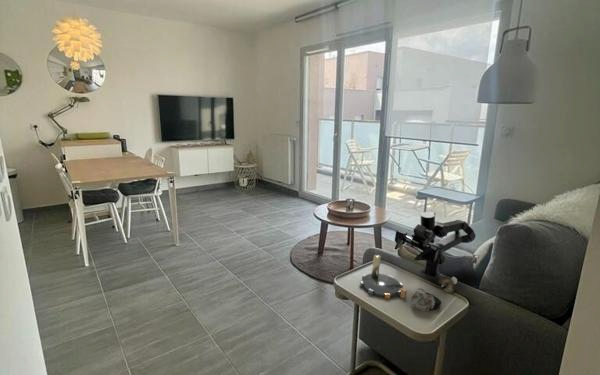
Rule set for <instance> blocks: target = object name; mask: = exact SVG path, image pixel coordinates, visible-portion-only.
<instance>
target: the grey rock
mask: <svg viewBox="0 0 600 375" xmlns="http://www.w3.org/2000/svg"><path fill="white" fill-rule="evenodd" d="M441 304H442V301H441V300H440V299H439V298H438V297H437V296H435V295H434V294H431V293H430V292H429V293H428V292H427V291H425V290H424V289H423V288H418V289H416V291H414V292H413V294H412V296H411V303H410V306H409V307H410V308H412V309H414V310H417V311H420V312H426V313H429V312H430V309H435V310H438V309H440V307H441Z"/></svg>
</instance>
